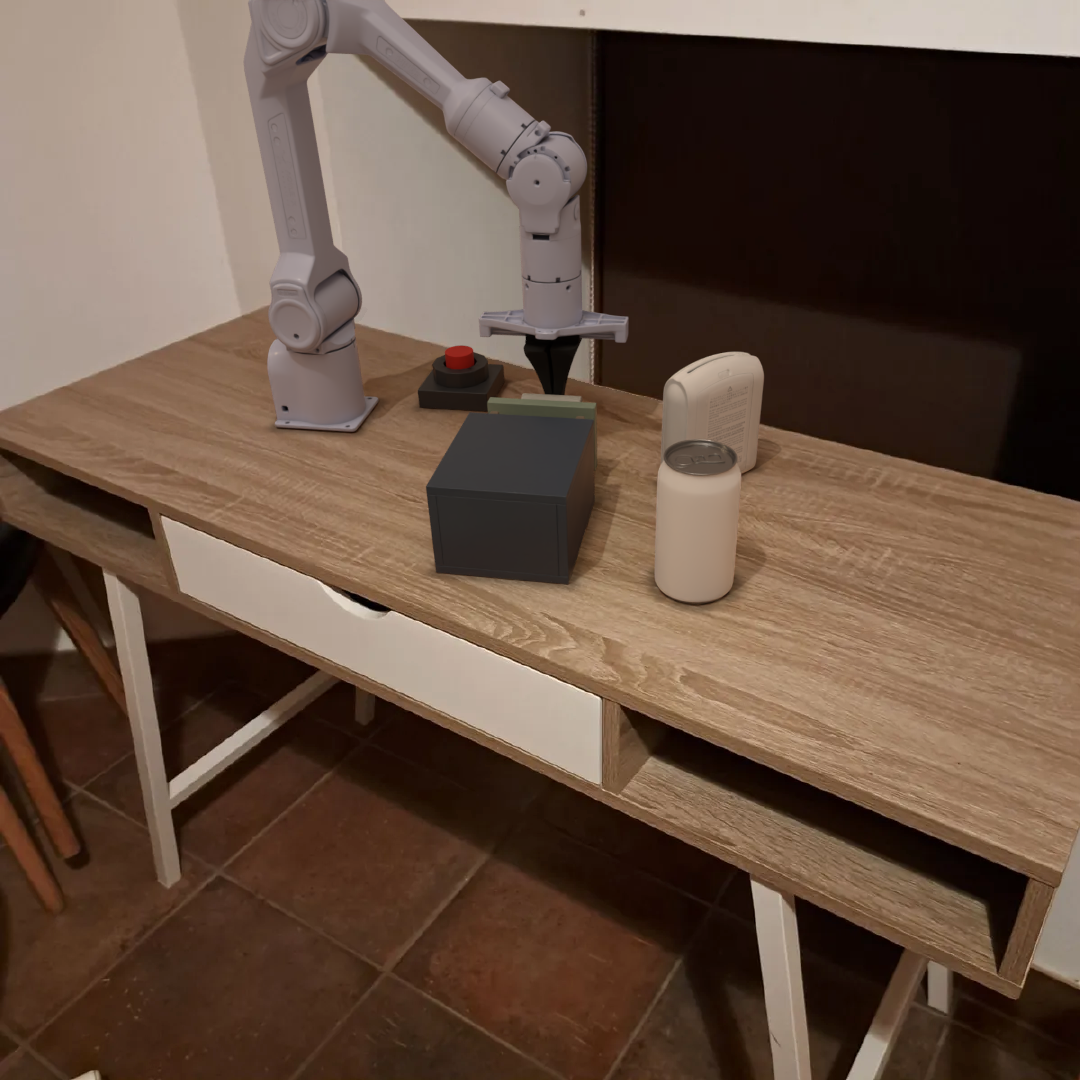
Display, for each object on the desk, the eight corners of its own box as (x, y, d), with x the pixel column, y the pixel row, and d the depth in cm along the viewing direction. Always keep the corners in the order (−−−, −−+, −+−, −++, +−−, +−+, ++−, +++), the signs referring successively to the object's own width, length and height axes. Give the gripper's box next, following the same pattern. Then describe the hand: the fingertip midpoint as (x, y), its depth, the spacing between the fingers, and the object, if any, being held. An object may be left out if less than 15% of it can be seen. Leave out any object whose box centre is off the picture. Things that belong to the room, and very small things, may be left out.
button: (442, 370, 113) (441, 355, 112) (450, 359, 116) (449, 344, 115) (470, 371, 113) (469, 357, 112) (477, 360, 115) (476, 345, 114)
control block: (419, 407, 114) (415, 375, 112) (439, 378, 120) (436, 346, 118) (488, 411, 112) (485, 378, 110) (504, 381, 119) (502, 349, 117)
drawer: (505, 437, 105) (501, 376, 101) (604, 443, 103) (604, 381, 99) (461, 525, 91) (454, 459, 87) (574, 534, 89) (573, 467, 85)
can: (648, 564, 86) (651, 439, 80) (722, 557, 87) (731, 433, 80) (662, 609, 81) (666, 480, 74) (741, 603, 81) (753, 473, 75)
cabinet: (476, 492, 98) (469, 412, 93) (594, 501, 95) (593, 419, 91) (435, 572, 87) (425, 486, 82) (568, 584, 84) (566, 496, 80)
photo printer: (732, 452, 102) (741, 336, 96) (762, 468, 99) (773, 350, 92) (652, 483, 98) (655, 364, 91) (681, 501, 95) (687, 380, 88)
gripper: (466, 285, 94) (477, 417, 101) (621, 290, 91) (621, 425, 99) (485, 261, 100) (494, 387, 107) (631, 264, 97) (630, 394, 104)
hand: (556, 403), depth 103 cm, fingers closed, pressing on drawer
